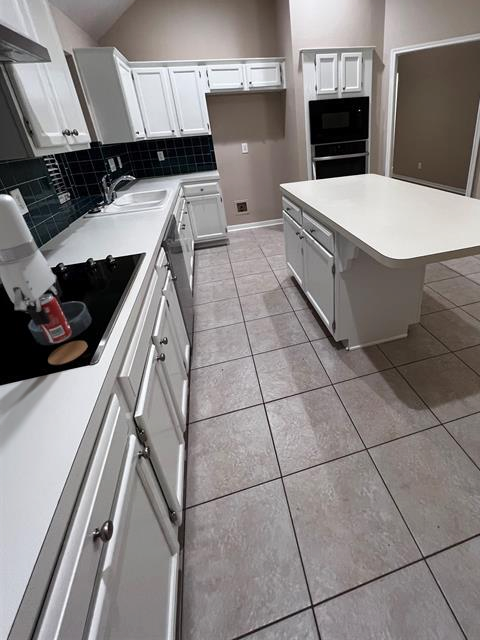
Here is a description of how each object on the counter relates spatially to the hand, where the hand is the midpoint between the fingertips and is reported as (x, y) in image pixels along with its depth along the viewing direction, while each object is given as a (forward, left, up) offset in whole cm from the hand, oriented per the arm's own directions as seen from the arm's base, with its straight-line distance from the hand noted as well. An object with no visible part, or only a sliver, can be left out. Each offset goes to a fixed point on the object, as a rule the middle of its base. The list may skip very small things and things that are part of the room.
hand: (49, 315), depth 79 cm
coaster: (0, 0, -12) cm, 12 cm away
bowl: (-6, +11, -12) cm, 17 cm away
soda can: (0, 0, -7) cm, 7 cm away
